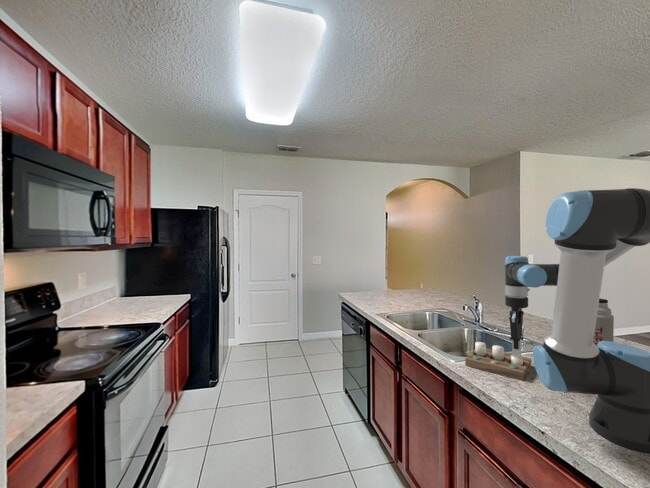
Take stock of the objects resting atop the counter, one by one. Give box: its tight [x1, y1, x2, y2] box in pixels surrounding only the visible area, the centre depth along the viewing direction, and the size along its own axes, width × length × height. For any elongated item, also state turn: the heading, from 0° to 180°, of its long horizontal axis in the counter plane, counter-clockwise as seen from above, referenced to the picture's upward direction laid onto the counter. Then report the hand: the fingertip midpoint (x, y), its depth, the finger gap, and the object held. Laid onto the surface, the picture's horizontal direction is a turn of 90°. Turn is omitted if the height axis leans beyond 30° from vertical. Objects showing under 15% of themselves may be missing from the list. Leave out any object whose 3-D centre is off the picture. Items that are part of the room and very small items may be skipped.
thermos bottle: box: [593, 297, 615, 346], centre depth 114 cm, size 8×8×28 cm
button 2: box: [491, 344, 505, 361], centre depth 123 cm, size 4×4×5 cm
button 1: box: [511, 355, 524, 366], centre depth 119 cm, size 4×4×5 cm
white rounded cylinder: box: [474, 341, 487, 357], centre depth 127 cm, size 4×4×5 cm
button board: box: [464, 348, 532, 381], centre depth 123 cm, size 16×20×3 cm
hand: (516, 356), depth 119 cm, fingers closed
